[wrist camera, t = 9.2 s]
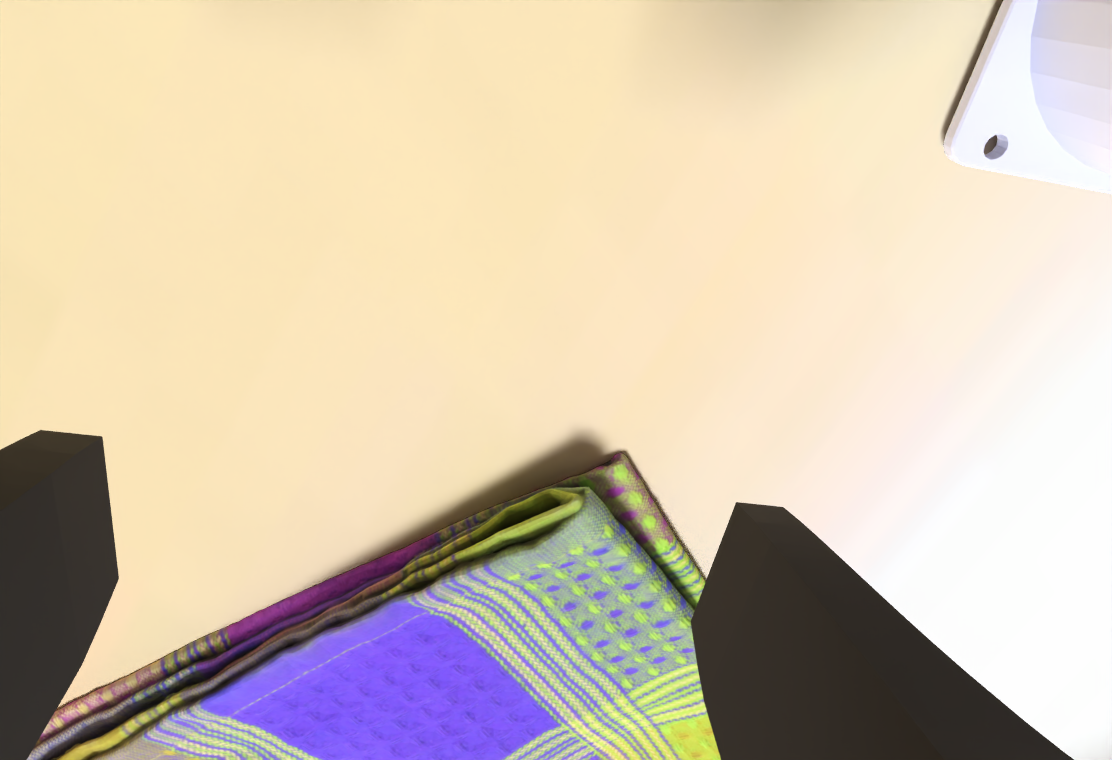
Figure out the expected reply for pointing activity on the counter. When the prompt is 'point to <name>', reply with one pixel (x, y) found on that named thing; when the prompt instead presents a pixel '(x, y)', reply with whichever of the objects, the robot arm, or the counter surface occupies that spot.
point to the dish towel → (443, 651)
